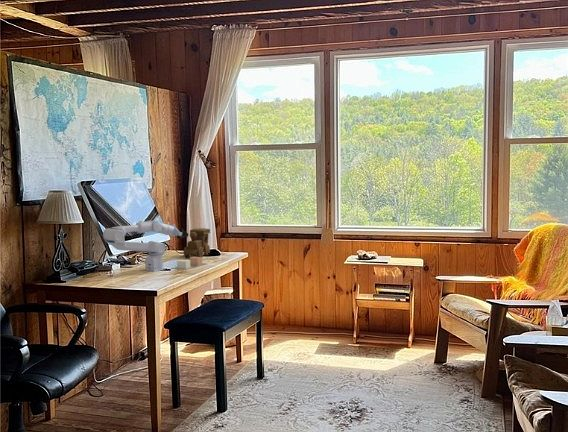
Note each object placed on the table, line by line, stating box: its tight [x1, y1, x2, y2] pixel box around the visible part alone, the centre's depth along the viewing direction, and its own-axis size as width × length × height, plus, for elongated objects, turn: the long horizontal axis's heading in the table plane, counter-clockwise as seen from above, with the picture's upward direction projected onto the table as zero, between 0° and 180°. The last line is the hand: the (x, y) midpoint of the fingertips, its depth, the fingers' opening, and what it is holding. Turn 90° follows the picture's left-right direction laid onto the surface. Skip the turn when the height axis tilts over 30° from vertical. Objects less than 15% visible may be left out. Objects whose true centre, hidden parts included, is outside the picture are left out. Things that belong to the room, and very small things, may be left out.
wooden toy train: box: [183, 227, 211, 258], centre depth 362 cm, size 20×11×17 cm, turn 164°
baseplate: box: [170, 256, 208, 271], centre depth 325 cm, size 21×11×5 cm, turn 152°
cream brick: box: [176, 259, 190, 269], centre depth 320 cm, size 4×6×4 cm, turn 62°
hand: (183, 233), depth 331 cm, fingers open, 7 cm apart
